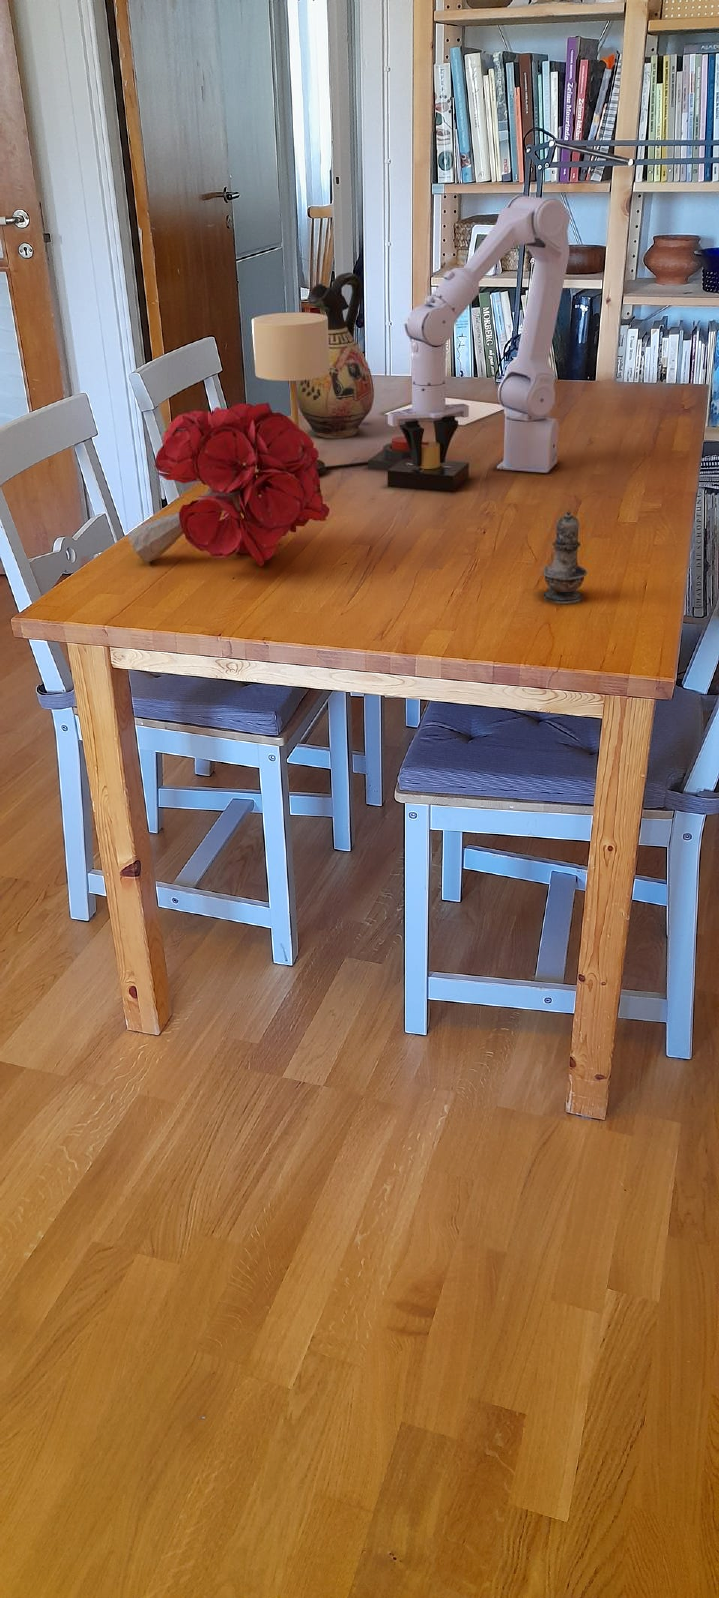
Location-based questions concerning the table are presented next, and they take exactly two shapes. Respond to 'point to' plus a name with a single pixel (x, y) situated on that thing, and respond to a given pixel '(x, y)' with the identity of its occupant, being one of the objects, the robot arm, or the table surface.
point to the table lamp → (293, 354)
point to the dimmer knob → (430, 455)
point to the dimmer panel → (428, 476)
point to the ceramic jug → (338, 367)
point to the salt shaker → (565, 564)
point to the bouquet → (236, 483)
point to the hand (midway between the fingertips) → (428, 463)
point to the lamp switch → (399, 443)
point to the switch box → (387, 458)
